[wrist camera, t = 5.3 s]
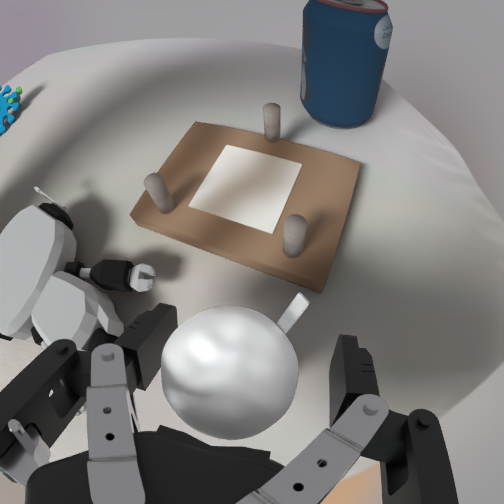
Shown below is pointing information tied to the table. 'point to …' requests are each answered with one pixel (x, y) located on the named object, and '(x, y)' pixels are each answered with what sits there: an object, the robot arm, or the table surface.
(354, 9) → the soda can
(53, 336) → the robot toy
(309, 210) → the pin plate
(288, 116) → the table surface
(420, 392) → the table surface
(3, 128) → the gear
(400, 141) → the table surface
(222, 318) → the milkshake
